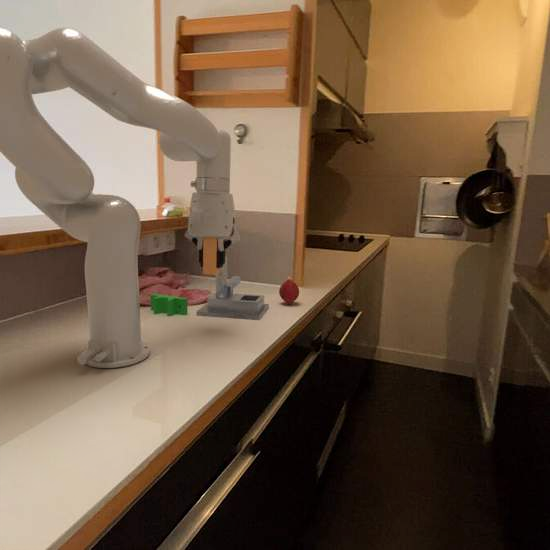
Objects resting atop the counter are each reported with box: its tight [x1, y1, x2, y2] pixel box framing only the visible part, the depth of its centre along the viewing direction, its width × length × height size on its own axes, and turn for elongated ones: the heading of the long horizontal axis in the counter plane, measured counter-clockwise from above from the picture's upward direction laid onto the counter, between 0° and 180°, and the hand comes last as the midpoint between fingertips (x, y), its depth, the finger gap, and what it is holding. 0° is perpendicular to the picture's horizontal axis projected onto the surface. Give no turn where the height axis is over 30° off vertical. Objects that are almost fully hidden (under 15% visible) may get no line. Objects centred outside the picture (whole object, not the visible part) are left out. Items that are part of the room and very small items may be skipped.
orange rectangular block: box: [202, 237, 221, 276], centre depth 100 cm, size 3×3×10 cm
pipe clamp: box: [150, 293, 188, 317], centre depth 115 cm, size 11×4×5 cm, turn 67°
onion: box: [278, 276, 300, 305], centre depth 125 cm, size 6×6×8 cm
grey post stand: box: [195, 255, 270, 321], centre depth 121 cm, size 22×17×15 cm
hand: (211, 266), depth 101 cm, fingers closed on orange rectangular block, 3 cm apart
